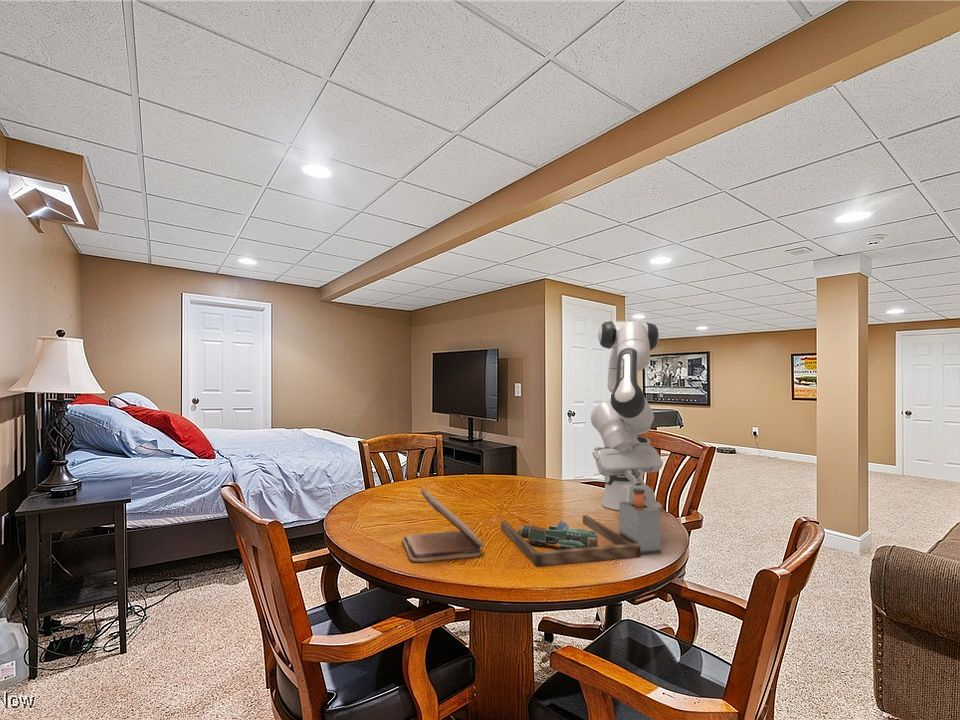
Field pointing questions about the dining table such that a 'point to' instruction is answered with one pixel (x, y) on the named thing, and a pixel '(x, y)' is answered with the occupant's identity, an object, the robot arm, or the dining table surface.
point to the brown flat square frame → (578, 554)
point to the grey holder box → (640, 526)
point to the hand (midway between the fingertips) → (639, 484)
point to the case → (443, 539)
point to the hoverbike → (560, 536)
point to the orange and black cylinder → (639, 498)
